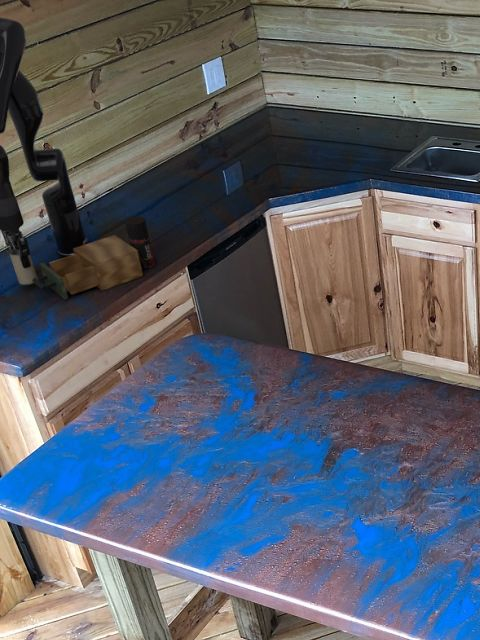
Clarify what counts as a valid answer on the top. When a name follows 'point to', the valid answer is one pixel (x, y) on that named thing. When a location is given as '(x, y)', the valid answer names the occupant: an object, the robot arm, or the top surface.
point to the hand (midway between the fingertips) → (22, 263)
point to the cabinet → (111, 261)
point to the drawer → (67, 275)
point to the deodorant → (140, 240)
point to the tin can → (22, 269)
